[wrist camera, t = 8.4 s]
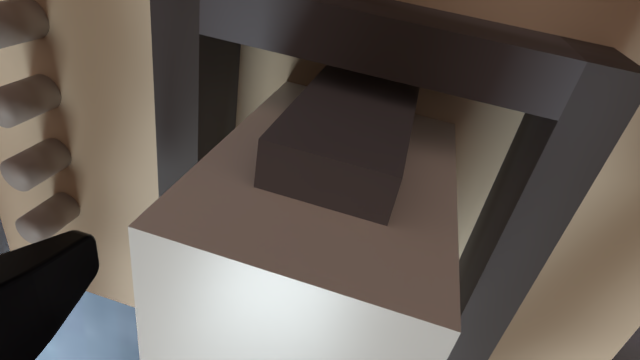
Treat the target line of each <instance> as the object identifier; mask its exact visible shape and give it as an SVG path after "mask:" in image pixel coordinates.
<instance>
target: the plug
mask: <svg viewBox="0 0 640 360" xmlns="http://www.w3.org/2000/svg"><path fill="white" fill-rule="evenodd" d="M419 89H420V87H416V86H412V85H408V84H404V83H400V82H395V81H391V80H387V79H383V78H379V77H375V76H371V75H367V74H362V73H358V72H354V71H350V70H346V69H342V68H338V67H333V66H329V65H326V66H325V67H324V68H323V70H322V71H321V72H320V73H319V74H318V75H317V76H316V77H315V78H314V79H313V80H312V81H311V82H310V84H309V85H308V86H303V85H299V84H296V83H292V82H288V81H286V82H285V83H284V84H283V85H282V86H281V87H280V88H279V89H278V90H276V91H275V92H274V93H273V94H272V95H271V96H270V97H269V98H268V99H267V100H266V101H264V102H263V103H262V104H261V105H260V106H259V107H258V108H257V109H256V110H255V111H254V112H252V113H251V114H250V115H249V116H248V117H247V118H246V119H245V120H244V121H243V122H241V123H240V124H239V125H238V126H237V127H236V128H235V129H234V130H233V131H232V132H231V133H229V134H228V135H227V136H226V137H225V138H224V139H223V140H222V141H221V142H220V143H218V144H217V145H216V146H215V147H214V148H213V149H212V150H211V151H210V152H209V153H208V154H206V155H205V156H204V157H203V158H202V159H201V160H200V161H199V162H198V163H197V164H195V165H194V166H193V167H192V168H191V169H190V170H189V171H188V172H187V173H186V174H185V175H183V176H182V177H181V178H180V179H179V180H178V181H177V182H176V183H175V184H174V185H173V186H171V187H170V188H169V189H168V190H167V191H166V192H165V193H164V194H163V195H162V196H160V197H159V198H158V199H157V200H156V201H155V202H154V203H153V204H152V205H151V206H150V207H148V208H147V209H146V210H145V211H144V212H143V213H142V214H141V215H140V216H139V217H137V218H136V219H135V220H134V221H133V222H132V223H131V224H130V225H129V226H128V235H129V246H130V257H131V268H132V279H133V290H134V301H135V312H136V323H137V334H138V345H139V356H140V360H447V359H448V357H449V355H450V353H451V351H452V349H453V347H454V345H455V343H456V341H457V339H458V337H459V336H460V334H461V315H460V281H459V247H458V213H457V179H456V145H455V124H452V123H448V122H444V121H440V120H436V119H432V118H428V117H424V116H421V115H417V114H415V110H416V105H417V100H418V94H419Z"/></svg>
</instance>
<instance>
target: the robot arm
mask: <svg viewBox="0 0 640 360" xmlns="http://www.w3.org/2000/svg"><path fill="white" fill-rule="evenodd" d="M98 270H99V258H98V251H97V244H96V239H95V238H94V236H93V235H91V234H88V233H85V232H82V231H79V230H71V231H67V232H65V233H62V234H59V235H56V236H53V237H50V238H47V239H44V240H41V241H38V242H35V243H33V244H30V245H27V246H24V247H21V248H18V249H15V250H12V251H9V252H6V253H4V254H1V255H0V360H35V359H36V358H37V357H38V355H39V354H40V353H41V352H42V351H43V349H44V348H45V347H46V346H47V344H48V343H49V342H50V341H51V339H52V338H53V337H54V335H55V334H56V333H57V331H58V330H59V328H60V327H61V326H62V324H63V323H64V321H65V320H66V318H67V317H68V316H69V314H70V313H71V311H72V310H73V308H74V307H75V306H76V304H77V303H78V301H79V300H80V298H81V297H82V295H83V294H84V293H85V291H86V290H87V288H88V287H89V285H90V284H91V283H92V281H93V280H94V278H95V277H96V275H97V273H98Z"/></svg>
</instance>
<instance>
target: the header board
mask: <svg viewBox="0 0 640 360" xmlns="http://www.w3.org/2000/svg"><path fill="white" fill-rule="evenodd" d="M326 65H329V66H333V67H338V68H342V69H346V70H350V71H354V72H358V73H362V74H367V75H371V76H375V77H379V78H383V79H387V80H391V81H395V82H400V83H404V84H408V85H412V86H416V87H420V89H419V94H418V100H417V105H416V110H415V114H417V115H421V116H424V117H428V118H432V119H436V120H440V121H444V122H448V123H452V124H455V145H456V179H457V213H458V247H459V281H460V315H461V334H460V336H459V337H458V339H457V341H456V343H455V345H454V347H453V349H452V351H451V353H450V355H449V357H448V359H447V360H612V359H613V357H614V356H615V355H616V354H617V353H618V351H619V350H620V349H621V348H622V347H623V345H624V344H625V343H626V342H627V341H628V339H629V338H630V337H631V336H632V335H633V334H634V332H635V331H636V330H637V329H638V328H639V326H640V0H0V218H1V221H2V225H3V228H4V231H5V235H6V238H7V242H8V245H9V249H10V251H12V250H15V249H18V248H21V247H24V246H27V245H30V244H33V243H35V242H38V241H41V240H44V239H47V238H50V237H53V236H56V235H59V234H62V233H65V232H67V231H71V230H79V231H82V232H85V233H88V234H91V235H93V236H94V238H95V239H96V244H97V251H98V258H99V270H98V273H97V275H96V277H95V278H94V280H93V281H92V283H91V284H90V285H89V287H88V288H87V290H86V291H88V292H91V293H94V294H97V295H100V296H102V297H105V298H108V299H111V300H114V301H117V302H120V303H123V304H126V305H129V306H132V307H135V301H134V290H133V279H132V268H131V257H130V246H129V235H128V226H129V225H130V224H131V223H132V222H133V221H134V220H135V219H136V218H137V217H139V216H140V215H141V214H142V213H143V212H144V211H145V210H146V209H147V208H148V207H150V206H151V205H152V204H153V203H154V202H155V201H156V200H157V199H158V198H159V197H160V196H162V195H163V194H164V193H165V192H166V191H167V190H168V189H169V188H170V187H171V186H173V185H174V184H175V183H176V182H177V181H178V180H179V179H180V178H181V177H182V176H183V175H185V174H186V173H187V172H188V171H189V170H190V169H191V168H192V167H193V166H194V165H195V164H197V163H198V162H199V161H200V160H201V159H202V158H203V157H204V156H205V155H206V154H208V153H209V152H210V151H211V150H212V149H213V148H214V147H215V146H216V145H217V144H218V143H220V142H221V141H222V140H223V139H224V138H225V137H226V136H227V135H228V134H229V133H231V132H232V131H233V130H234V129H235V128H236V127H237V126H238V125H239V124H240V123H241V122H243V121H244V120H245V119H246V118H247V117H248V116H249V115H250V114H251V113H252V112H254V111H255V110H256V109H257V108H258V107H259V106H260V105H261V104H262V103H263V102H264V101H266V100H267V99H268V98H269V97H270V96H271V95H272V94H273V93H274V92H275V91H276V90H278V89H279V88H280V87H281V86H282V85H283V84H284V83H285V82H286V81H288V82H292V83H296V84H299V85H303V86H308V85H309V84H310V82H311V81H312V80H313V79H314V78H315V77H316V76H317V75H318V74H319V73H320V72H321V71H322V70H323V68H324V67H325V66H326Z"/></svg>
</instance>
